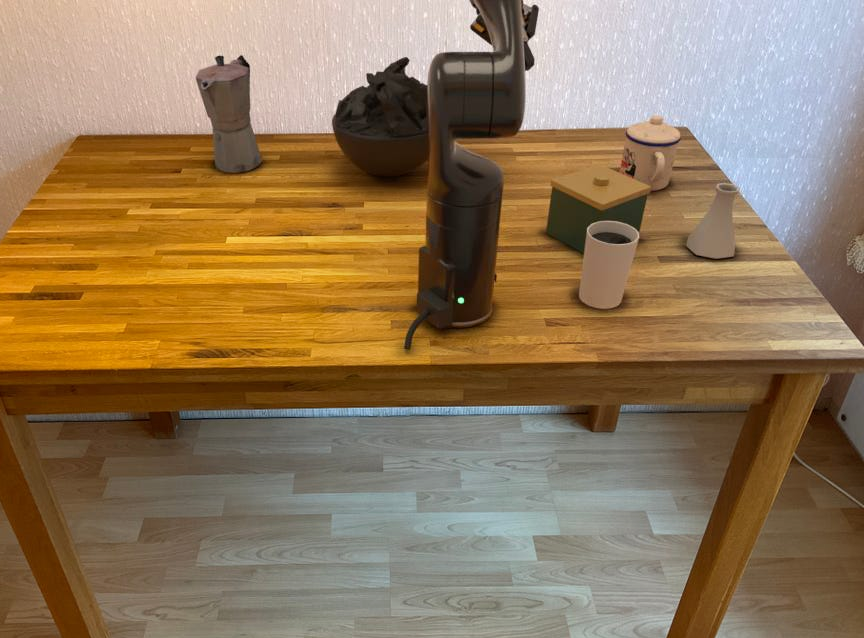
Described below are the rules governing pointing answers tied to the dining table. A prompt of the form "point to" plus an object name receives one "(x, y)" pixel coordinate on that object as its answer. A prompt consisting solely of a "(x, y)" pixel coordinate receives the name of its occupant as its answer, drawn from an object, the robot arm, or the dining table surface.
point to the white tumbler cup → (607, 263)
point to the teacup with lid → (650, 152)
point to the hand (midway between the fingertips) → (527, 68)
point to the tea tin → (593, 203)
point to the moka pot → (230, 114)
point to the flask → (716, 226)
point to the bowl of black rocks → (385, 123)
